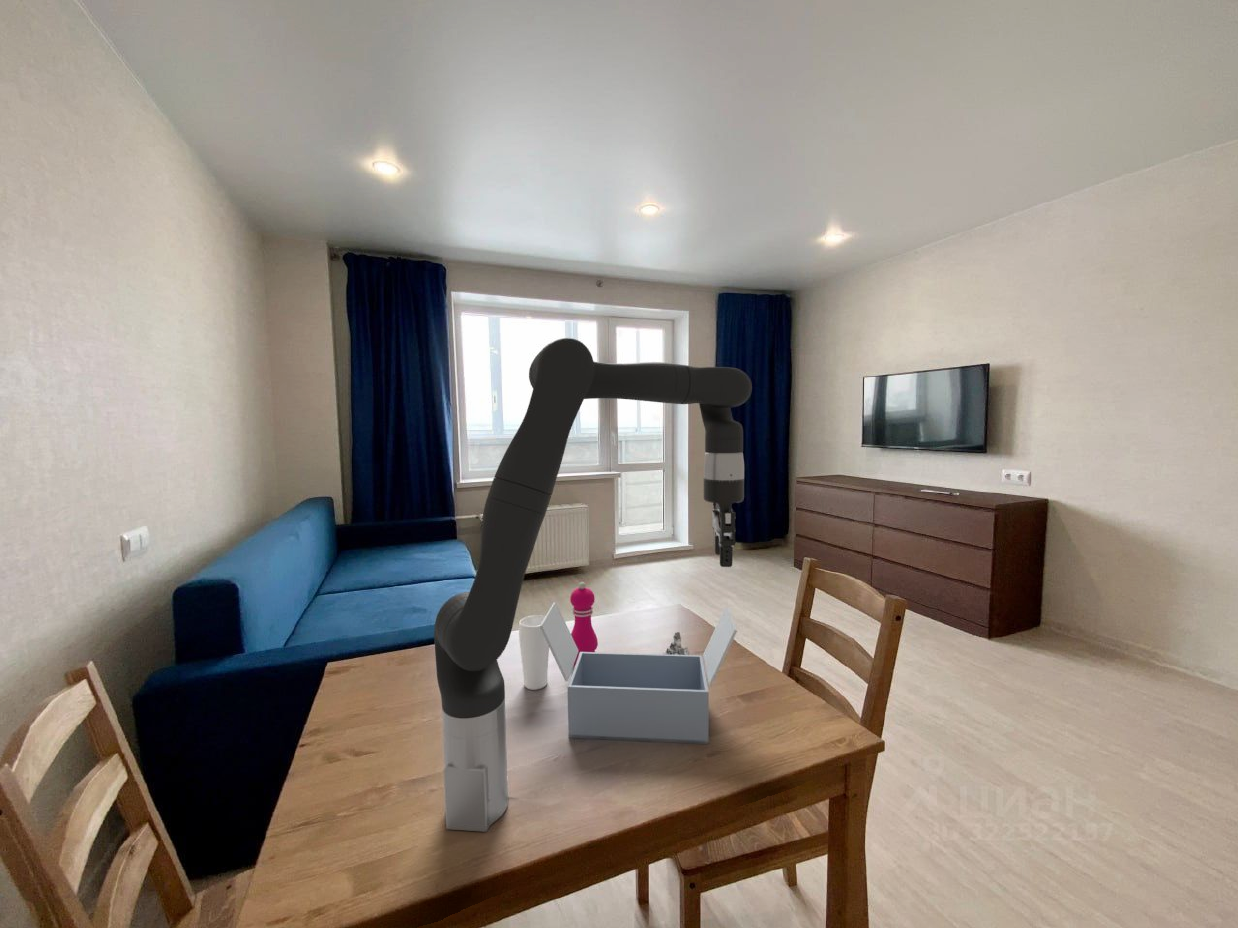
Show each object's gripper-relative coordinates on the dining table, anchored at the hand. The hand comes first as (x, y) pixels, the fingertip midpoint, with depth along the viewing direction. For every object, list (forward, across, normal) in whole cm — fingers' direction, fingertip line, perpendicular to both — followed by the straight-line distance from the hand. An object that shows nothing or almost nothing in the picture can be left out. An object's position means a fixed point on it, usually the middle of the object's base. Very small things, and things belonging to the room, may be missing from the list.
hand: (723, 560), depth 93 cm
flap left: (+22, 0, +29) cm, 37 cm away
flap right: (+22, 0, +4) cm, 23 cm away
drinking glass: (+33, +10, +40) cm, 53 cm away
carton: (+32, 0, +16) cm, 36 cm away
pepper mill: (+33, +23, +32) cm, 51 cm away
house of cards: (+33, +24, +6) cm, 41 cm away
